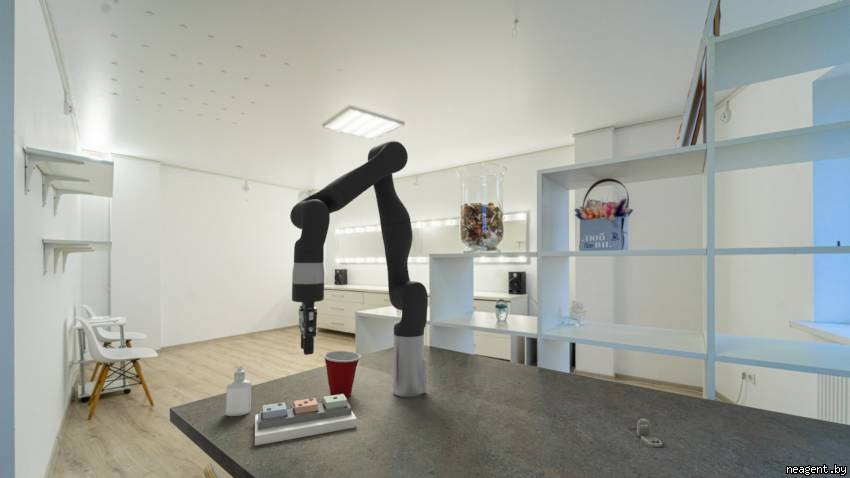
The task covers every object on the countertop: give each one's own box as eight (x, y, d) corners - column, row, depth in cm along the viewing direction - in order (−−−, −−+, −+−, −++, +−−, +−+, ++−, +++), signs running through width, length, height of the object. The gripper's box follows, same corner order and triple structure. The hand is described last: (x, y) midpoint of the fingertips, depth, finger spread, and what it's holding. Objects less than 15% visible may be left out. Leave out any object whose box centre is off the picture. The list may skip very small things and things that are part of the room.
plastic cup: (355, 403, 103) (356, 359, 104) (317, 402, 104) (318, 358, 104) (363, 389, 114) (364, 349, 115) (329, 389, 114) (329, 349, 115)
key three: (315, 404, 92) (315, 397, 93) (317, 410, 88) (317, 403, 89) (293, 407, 90) (294, 400, 91) (295, 414, 86) (295, 406, 87)
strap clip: (664, 448, 80) (664, 427, 80) (651, 448, 79) (650, 428, 80) (637, 430, 88) (637, 411, 88) (625, 430, 88) (625, 412, 88)
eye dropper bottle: (241, 418, 93) (243, 369, 94) (222, 415, 94) (224, 367, 95) (253, 411, 97) (254, 364, 98) (234, 409, 99) (236, 363, 99)
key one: (343, 399, 95) (343, 393, 95) (347, 406, 91) (347, 399, 91) (323, 402, 93) (323, 396, 93) (326, 409, 89) (326, 402, 89)
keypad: (345, 408, 99) (345, 395, 99) (356, 427, 88) (356, 411, 88) (255, 423, 90) (255, 408, 90) (254, 445, 79) (255, 428, 79)
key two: (285, 408, 90) (285, 401, 90) (286, 415, 86) (286, 408, 86) (262, 411, 88) (262, 404, 88) (262, 419, 84) (262, 411, 84)
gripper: (329, 282, 86) (327, 356, 85) (319, 279, 99) (318, 343, 98) (294, 283, 83) (293, 360, 82) (289, 280, 96) (288, 346, 95)
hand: (306, 350), depth 90 cm, fingers open, 5 cm apart
